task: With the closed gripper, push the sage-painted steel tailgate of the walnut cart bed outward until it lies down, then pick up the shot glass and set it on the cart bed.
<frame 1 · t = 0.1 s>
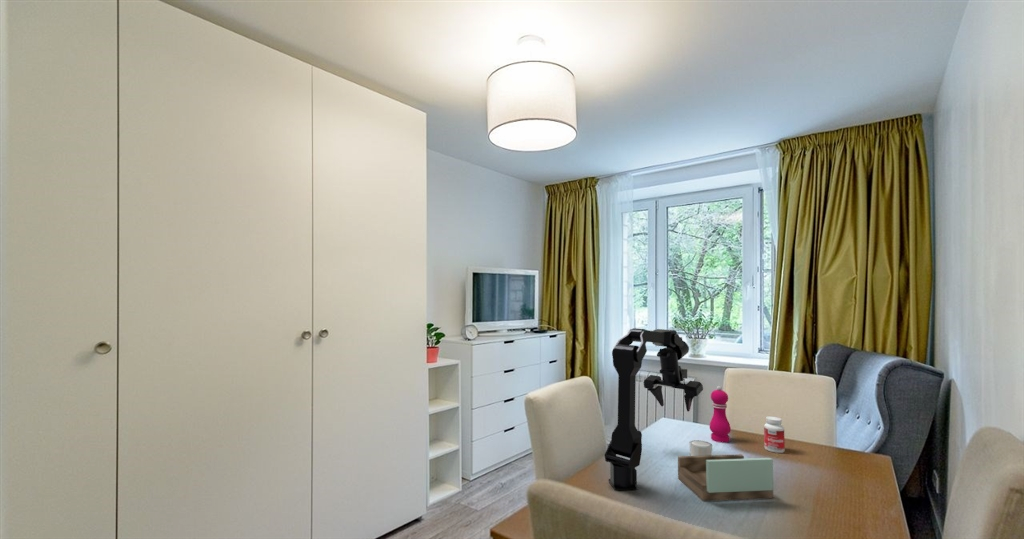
hand: (675, 408, 152), 15 cm above the table, tool pointing down, fingers open, 9 cm apart
pepper mill: (720, 440, 166), on the table
tailgate: (739, 474, 118), point 7 cm above the table, hinge at 0.0°
cart bed: (723, 487, 126), on the table
pill bottle: (774, 450, 156), on the table
shot glass: (701, 466, 142), on the table
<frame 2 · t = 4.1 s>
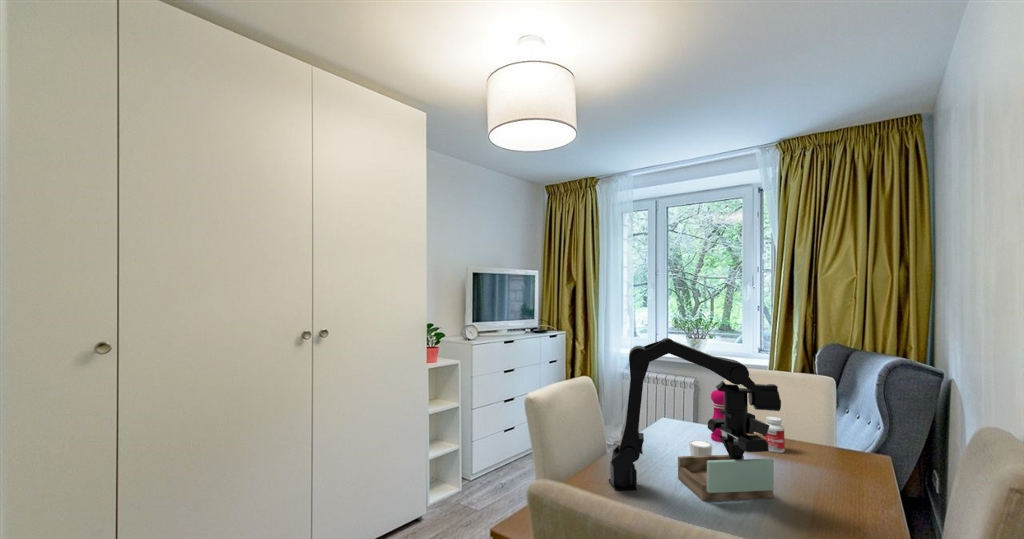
hand: (736, 466, 120), 8 cm above the table, tool pointing down, fingers closed
tailgate: (740, 475, 118), point 7 cm above the table, hinge at 3.0°, touching gripper
everything else where it was.
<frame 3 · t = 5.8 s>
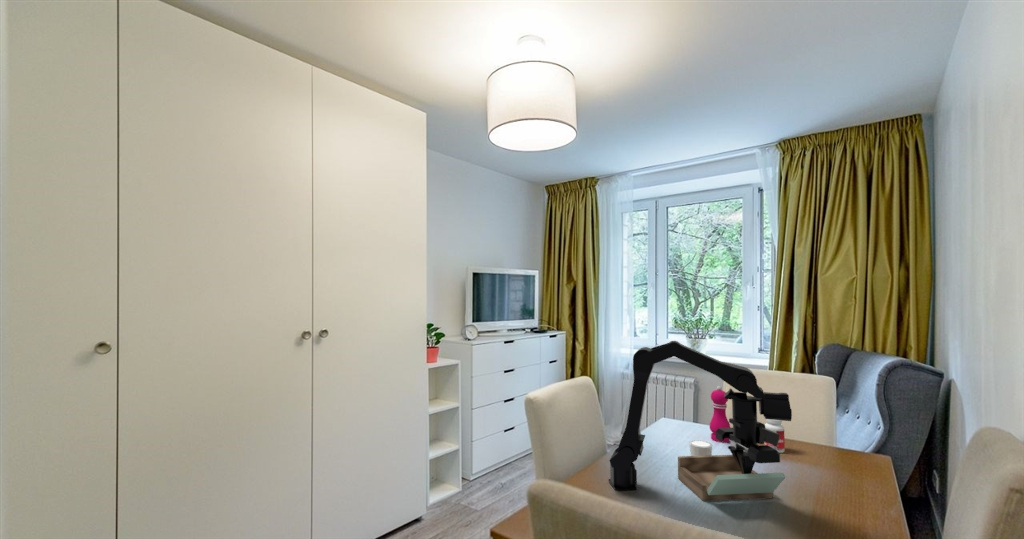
hand: (746, 477, 115), 7 cm above the table, tool pointing down, fingers closed
tailgate: (745, 484, 116), point 5 cm above the table, hinge at 40.0°, touching gripper
everything else where it was.
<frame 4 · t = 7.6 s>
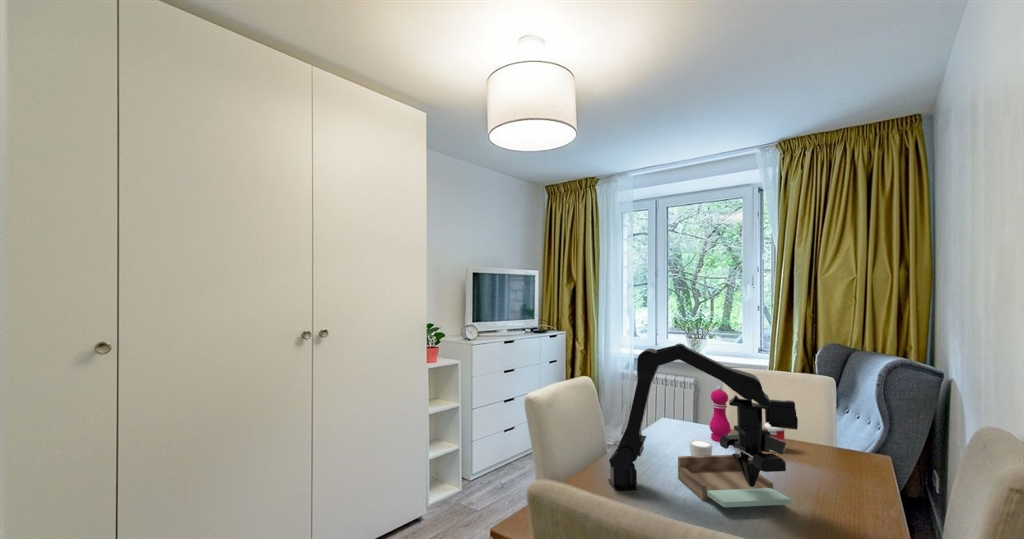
hand: (751, 486, 113), 6 cm above the table, tool pointing down, fingers closed
tailgate: (748, 497, 114), point 3 cm above the table, hinge at 85.0°
everything else where it was.
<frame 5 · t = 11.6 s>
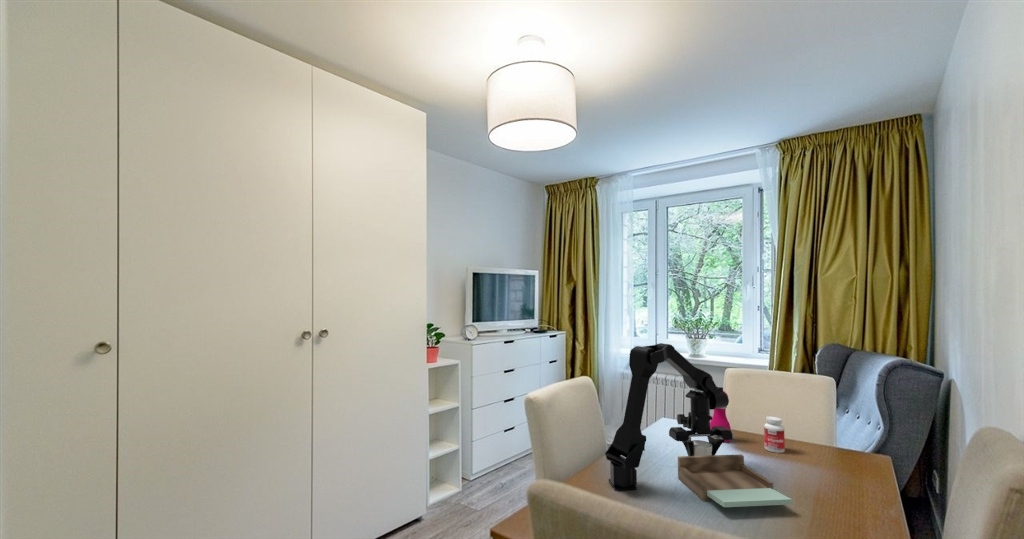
hand: (701, 460, 142), 2 cm above the table, tool pointing down, fingers closed on shot glass, 6 cm apart
shot glass: (701, 466, 142), on the table, touching gripper
everything else where it was.
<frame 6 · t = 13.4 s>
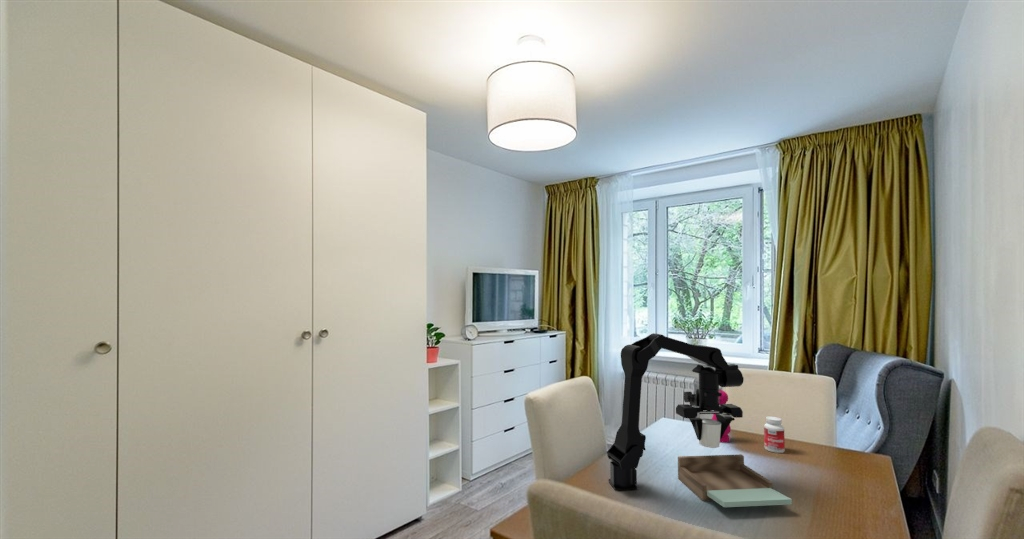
hand: (709, 439, 135), 11 cm above the table, tool pointing down, fingers closed on shot glass, 6 cm apart
shot glass: (709, 445, 135), point 9 cm above the table, touching gripper
everything else where it was.
when the fingers open (5 cm above the table, at t = 15.3 s): shot glass stays where it is, resting on cart bed.
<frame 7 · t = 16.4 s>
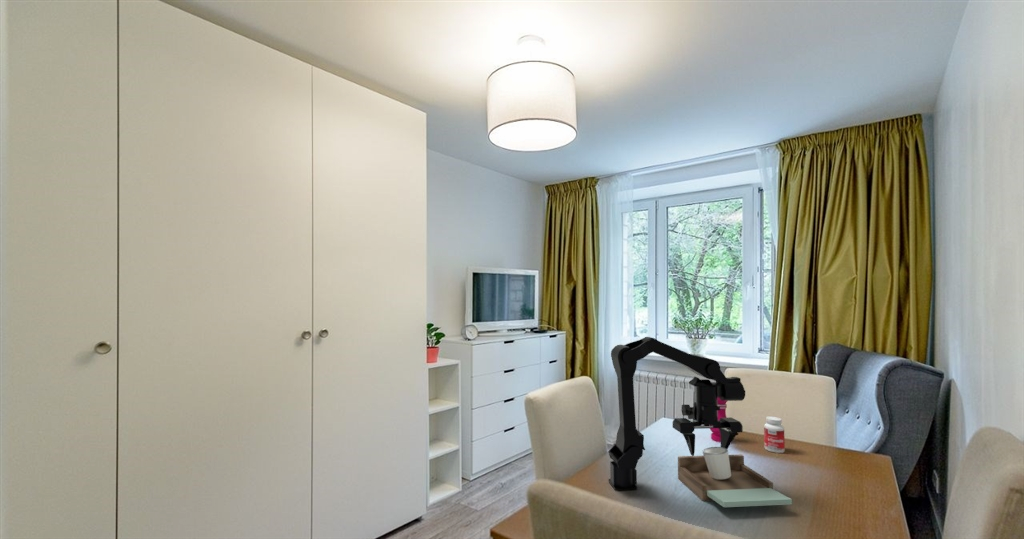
hand: (707, 455, 129), 8 cm above the table, tool pointing down, fingers open, 9 cm apart
shot glass: (720, 476, 127), point 3 cm above the table, touching cart bed, gripper
everything else where it was.
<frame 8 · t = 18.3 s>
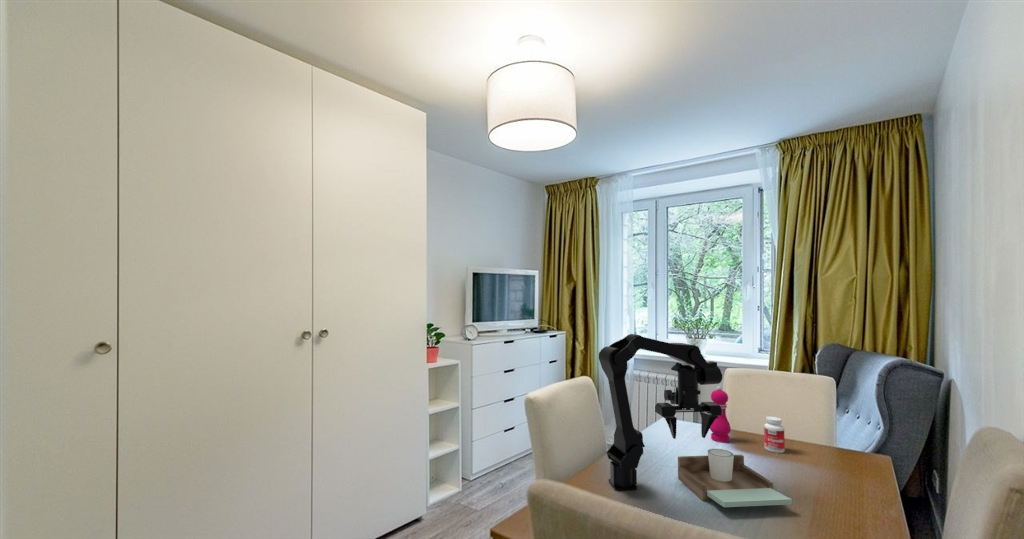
hand: (688, 438, 134), 11 cm above the table, tool pointing down, fingers open, 9 cm apart
shot glass: (720, 478, 127), point 2 cm above the table, touching cart bed
everything else where it was.
at the end: tailgate at +85° (first picture: +0°); shot glass inside the target area on the cart bed (1.9 cm from its centre), point 2.3 cm above the cart bed's base; shot glass tilted 0° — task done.
